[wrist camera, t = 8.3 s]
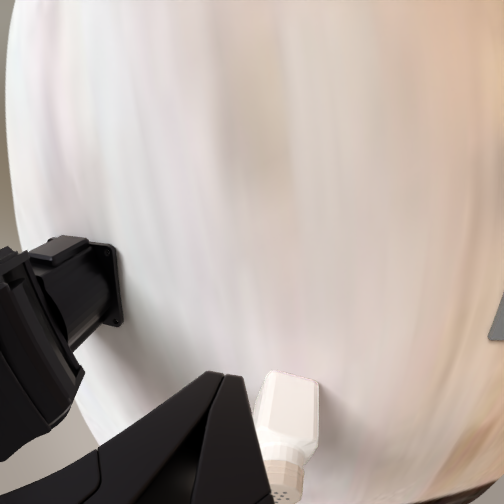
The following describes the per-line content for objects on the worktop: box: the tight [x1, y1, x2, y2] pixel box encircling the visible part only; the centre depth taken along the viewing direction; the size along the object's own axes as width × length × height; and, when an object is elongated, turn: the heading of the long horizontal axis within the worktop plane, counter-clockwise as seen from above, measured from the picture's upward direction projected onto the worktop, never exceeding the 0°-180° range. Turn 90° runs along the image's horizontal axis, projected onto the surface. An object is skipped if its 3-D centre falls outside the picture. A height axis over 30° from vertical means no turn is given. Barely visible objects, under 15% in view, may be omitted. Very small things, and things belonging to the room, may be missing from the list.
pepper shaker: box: [252, 370, 319, 504], centre depth 19 cm, size 4×4×10 cm
